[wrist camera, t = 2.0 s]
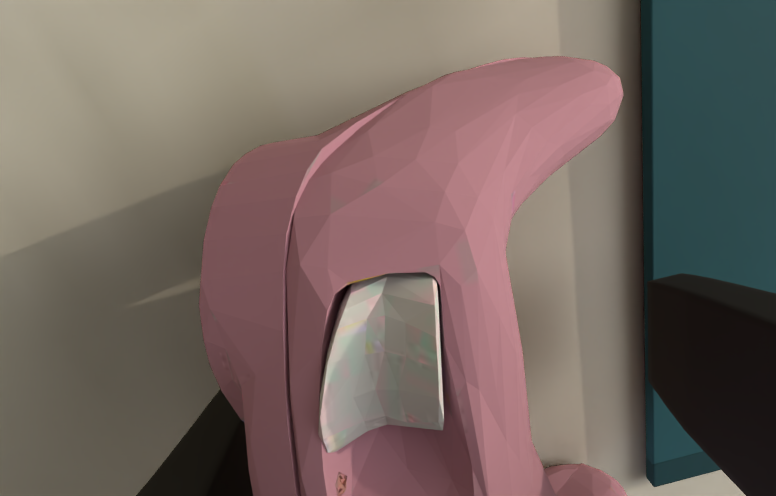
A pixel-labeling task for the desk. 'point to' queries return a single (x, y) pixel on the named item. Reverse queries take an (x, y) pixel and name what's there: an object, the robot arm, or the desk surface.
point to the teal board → (705, 170)
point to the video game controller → (395, 288)
